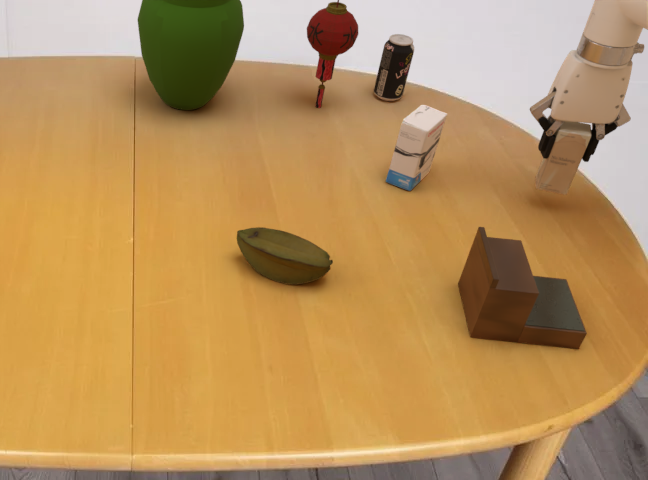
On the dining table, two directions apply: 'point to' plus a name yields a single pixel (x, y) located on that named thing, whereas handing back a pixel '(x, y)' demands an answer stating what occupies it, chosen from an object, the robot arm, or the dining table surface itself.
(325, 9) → the lantern
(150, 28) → the vase
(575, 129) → the box
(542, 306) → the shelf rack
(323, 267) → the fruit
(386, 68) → the beverage can
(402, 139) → the ink box
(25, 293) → the dining table surface
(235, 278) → the dining table surface
